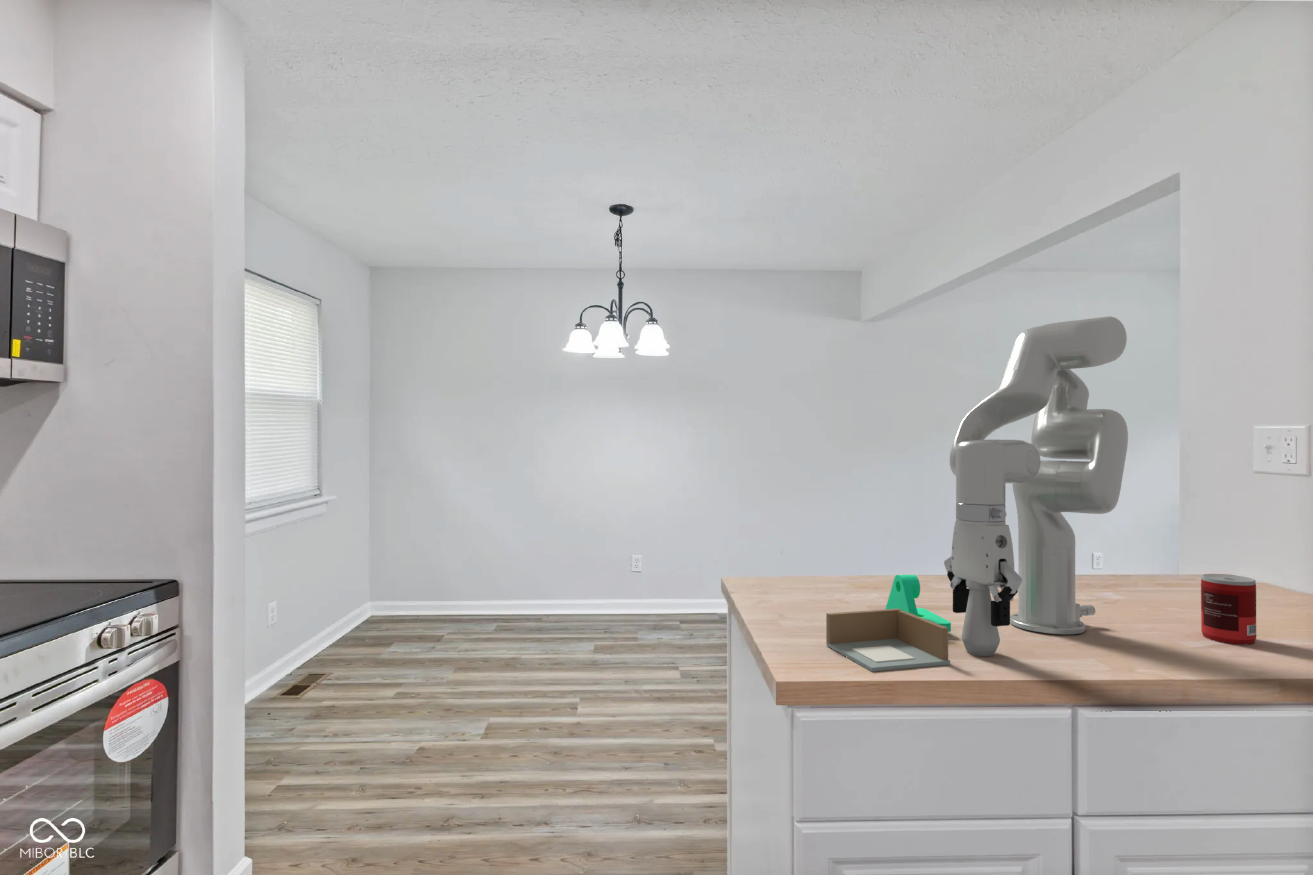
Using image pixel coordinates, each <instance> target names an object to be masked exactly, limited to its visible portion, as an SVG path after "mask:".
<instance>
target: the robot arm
mask: <svg viewBox="0 0 1313 875" xmlns="http://www.w3.org/2000/svg"><path fill="white" fill-rule="evenodd" d="M1127 342H1128V341H1127V332H1126V328H1125V325H1124V324H1123V323H1122V321H1121V320H1120V319H1118V318H1117V317H1114V316H1101V317H1094V318H1084V319H1077V320H1076V319H1075V320H1068V321H1060V322H1059V321H1058V322H1052V323H1047V324H1043V325H1038V326H1034V327H1033V326H1032V327H1030V328H1027V329H1025V330H1023V331H1022V332H1020V334H1019V335H1018V336H1017V337H1016V339H1015V341H1014V343H1013V346H1012V349H1011V352H1010V355H1009V358H1008V359H1007V363H1006V367H1005V370H1004V371H1003V375H1002V378H1001V381H1000V384H999V386H998V389H996V390H995V391H994V392H993V393H991V394H990V395H988V396H986V397H985V398H984V399H983V400H982V401H980V402H979V403H978V404H977V405H976V406H974V407H973V409H971V410H970V411H969V412H968V413H967V414H966V415H965V416H964V418H962V421H960V424H959V426H958V428H957V431H956V434H955V436H954V440H953V442H952V444H951V449H950V452H949V453H950V454H949V466H950V470H951V472H952V474H953V475H954V476H955V522H954V526H953V533H952V541H951V542H952V543H951V556H949V557H948V558H947V559H945V560H944V562H943V565H944V567H945V570H946V572H947V573H946V576H947V578H948V580H949V582H950V583H949V584H950V585H949V586H950V588H951V589H952V612H953V613H955V614H962V613H965V614H966V608H967V603H968V597H969V591H970V589H969V588H968V587H967V586H966V580H968V579H969V580H971V581H974V582H976V583H978V584H981V585H985V586H988V587H989V589H990V595H992V596H991V597H992V598H993V600H992V601H991V625H992V626H997V627H1004V626H1005V627H1008V626H1010V624H1011V625H1013V626H1014V627H1017V628H1019V629H1023V630H1026V631H1029V632H1030V631H1031V632H1035V633H1041V634H1048V635H1049V634H1052V635H1077V634H1082V633H1084V632H1086V624H1085V623H1084V622H1083V621H1081V618H1082V617H1083V616H1085V617H1086V616H1087V617H1089V616H1093V615H1095V614H1096V608H1095V606H1094V605H1093V604H1085V605H1084V604H1083V605H1080V603H1078V602H1076V536H1075V532H1074V530H1073V528H1072V526H1071V525H1070V523H1069V522H1068V520H1067V519H1066V518H1065V517H1064V515H1063V514H1062V513H1073V514H1074V513H1076V514H1092V515H1093V514H1094V515H1096V514H1097V515H1098V514H1099V515H1104V514H1108V513H1110V512H1112V511H1113V510H1114V509H1115V508H1116V506H1117V505H1118V502H1119V498H1120V495H1121V490H1122V482H1123V476H1124V470H1125V465H1126V464H1125V463H1126V458H1127V451H1128V444H1129V432H1128V426H1127V422H1126V419H1125V418H1124V416H1123V415H1122V414H1121V413H1120V412H1118V411H1116V410H1113V409H1107V408H1093V409H1091V408H1090V409H1089V408H1088V402H1089V397H1090V392H1089V388H1088V386H1087V384H1086V383H1085V382H1084V381H1083V380H1082V378H1081V377H1080V376H1078V375H1077V374H1076V373H1075V372H1074V371H1073V370H1074V369H1075V370H1076V369H1088V368H1094V367H1100V366H1103V365H1105V364H1109V363H1111V362H1114V361H1116V360H1117V359H1119V358H1120V357H1121V356H1122V354H1124V351H1125V348H1126V346H1127ZM1072 369H1073V370H1072ZM1087 408H1088V409H1087ZM1034 414H1035V416H1034V420H1033V425H1032V431H1031V438H1030V439H1031V440H1030V441H1031V443H1030V442H1029V441H1027V440H1022V439H1021V440H1020V439H986V438H987V437H988V436H990V435H991V434H992V433H993V432H995V431H996V430H998V429H1000V428H1003V427H1005V426H1006V425H1007V426H1008V425H1009V424H1013V423H1015V422H1017V421H1021V420H1022V419H1025V418H1027V417H1030V416H1032V415H1034ZM1041 457H1043V458H1048V460H1047V459H1046V460H1045V459H1043V460H1041ZM1049 459H1054V460H1049ZM1055 459H1057V460H1055ZM1073 460H1074V461H1073ZM1076 460H1078V461H1076ZM1080 460H1090V461H1080ZM1006 484H1012V492H1013V496H1014V502H1015V506H1016V514H1017V523H1018V524H1017V528H1018V531H1017V532H1018V533H1017V534H1018V536H1017V537H1018V538H1017V540H1018V542H1017V544H1018V550H1017V552H1018V553H1017V554H1018V556H1017V558H1018V559H1017V560H1018V564H1017V565H1018V569H1017V570H1018V573H1017V571H1015V557H1014V554H1015V553H1014V547H1013V546H1014V545H1013V540H1012V534H1011V530H1010V526H1009V524H1006V517H1007V511H1006ZM998 588H1000V591H999V589H998ZM1017 594H1018V613H1013V614H1011V602H1012V601H1014V597H1015V596H1016V595H1017Z"/></svg>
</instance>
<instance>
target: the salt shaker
mask: <svg viewBox="0 0 1313 875" xmlns="http://www.w3.org/2000/svg"><path fill="white" fill-rule="evenodd" d="M966 586H967V588H969V589H970V591H969V597H968V603H967V608H966V612H965V615H964V620H963V626H962V632H961V641H962V643H963V646H964V649H965V651H966V653H969V654H970V655H972V656H977V657H978V656H979V657H992V656H993V657H994V656H995V653H996V652H997V649H998V648H999V645H1000V641H1001V638H1000V633H999V629H998V626H992V625H991V601H993V600H992V596H991V595H992V594H991V592H990V589H989V587H988V586H985V585H981V584H978V583H976V582H974V581H971V580H969V579H968V580H966Z"/></svg>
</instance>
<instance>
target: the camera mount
mask: <svg viewBox="0 0 1313 875" xmlns="http://www.w3.org/2000/svg"><path fill="white" fill-rule="evenodd" d="M920 584H921V583H920V579H919V578H918V576H917V575H916V574H896V575H895V576H894V579H893V582H892V585H891V587H890V588H891V589H890V591H889V596H888V600H887V602H886V606H885V609H900V610H901V611H905V612H908V613H911V614H913V615H916V616H918V617H921V618H924V619H926V620H929V621H931V622H934V623H936V624H939V625H942V626H944V627H947V628H948V633H950V632H951V631H952V621H950V620H947V619H945V618H944V617H941V616H940V615H938V614H935V613H934V612H932V611H930V610H928V609H926V608H924V607H923V608H922V607H917V605H916V600H915V599H918V598H919V597H920V594H921V585H920Z"/></svg>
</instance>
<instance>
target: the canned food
mask: <svg viewBox="0 0 1313 875" xmlns="http://www.w3.org/2000/svg"><path fill="white" fill-rule="evenodd" d="M1200 576H1201V578H1200V613H1201V614H1200V616H1201V617H1200V620H1201V621H1200V622H1201V624H1200V625H1201V626H1200V627H1201V628H1200V629H1201V633H1202V636H1203V637H1204V638H1205V637H1206V639H1207V638H1209V639H1208V640H1210V639H1211V640H1210V641H1213V640H1215V641H1214V642H1217V641H1218V643H1222V642H1224V643H1223V644H1228V643H1229V644H1230V645H1237V644H1249V645H1253V644H1255V642H1256V639H1257V582H1256V581H1257V580H1255V579H1254V578H1251V577H1248V576H1243V575H1236V574H1235V575H1233V574H1226V573H1205V574H1204V573H1203V574H1201V575H1200Z"/></svg>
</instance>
